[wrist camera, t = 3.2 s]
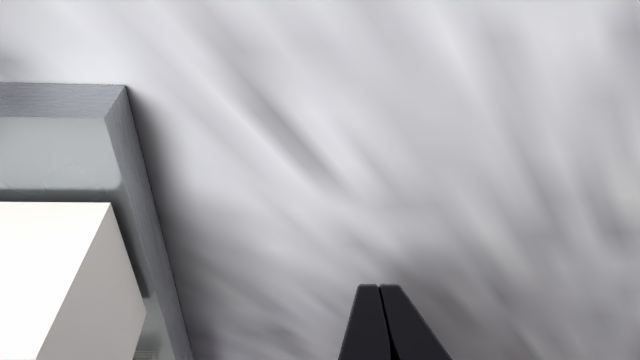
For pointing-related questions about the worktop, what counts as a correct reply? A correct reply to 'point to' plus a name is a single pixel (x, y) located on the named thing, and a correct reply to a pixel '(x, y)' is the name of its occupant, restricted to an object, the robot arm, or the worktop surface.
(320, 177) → the worktop surface
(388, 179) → the worktop surface
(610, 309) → the worktop surface
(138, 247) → the strip
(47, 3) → the worktop surface
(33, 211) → the white square block
